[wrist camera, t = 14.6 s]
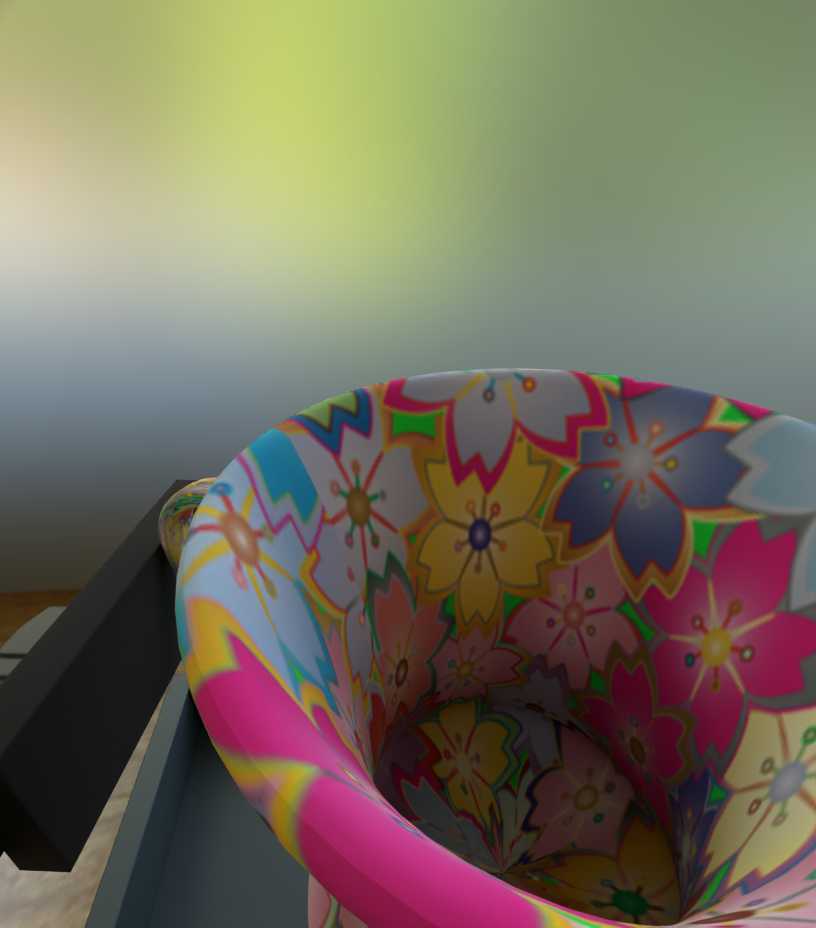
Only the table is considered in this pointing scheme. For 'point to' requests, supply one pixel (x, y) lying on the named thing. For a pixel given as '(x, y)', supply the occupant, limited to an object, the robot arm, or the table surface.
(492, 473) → the mug
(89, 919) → the tray
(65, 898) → the table surface
